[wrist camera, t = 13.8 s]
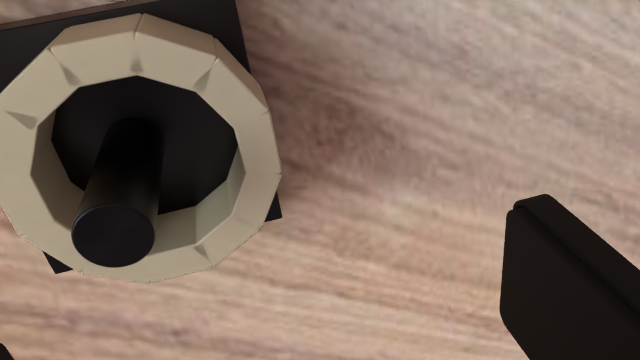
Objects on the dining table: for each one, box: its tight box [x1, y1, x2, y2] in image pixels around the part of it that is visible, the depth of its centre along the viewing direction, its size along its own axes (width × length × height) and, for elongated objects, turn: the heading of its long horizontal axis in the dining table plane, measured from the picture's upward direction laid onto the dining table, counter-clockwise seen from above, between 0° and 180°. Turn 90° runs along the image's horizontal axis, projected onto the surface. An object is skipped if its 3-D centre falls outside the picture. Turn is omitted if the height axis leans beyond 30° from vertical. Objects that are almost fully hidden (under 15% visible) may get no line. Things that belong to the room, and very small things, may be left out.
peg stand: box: [0, 0, 282, 274], centre depth 15 cm, size 9×9×7 cm
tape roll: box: [0, 13, 283, 284], centre depth 16 cm, size 8×8×2 cm
